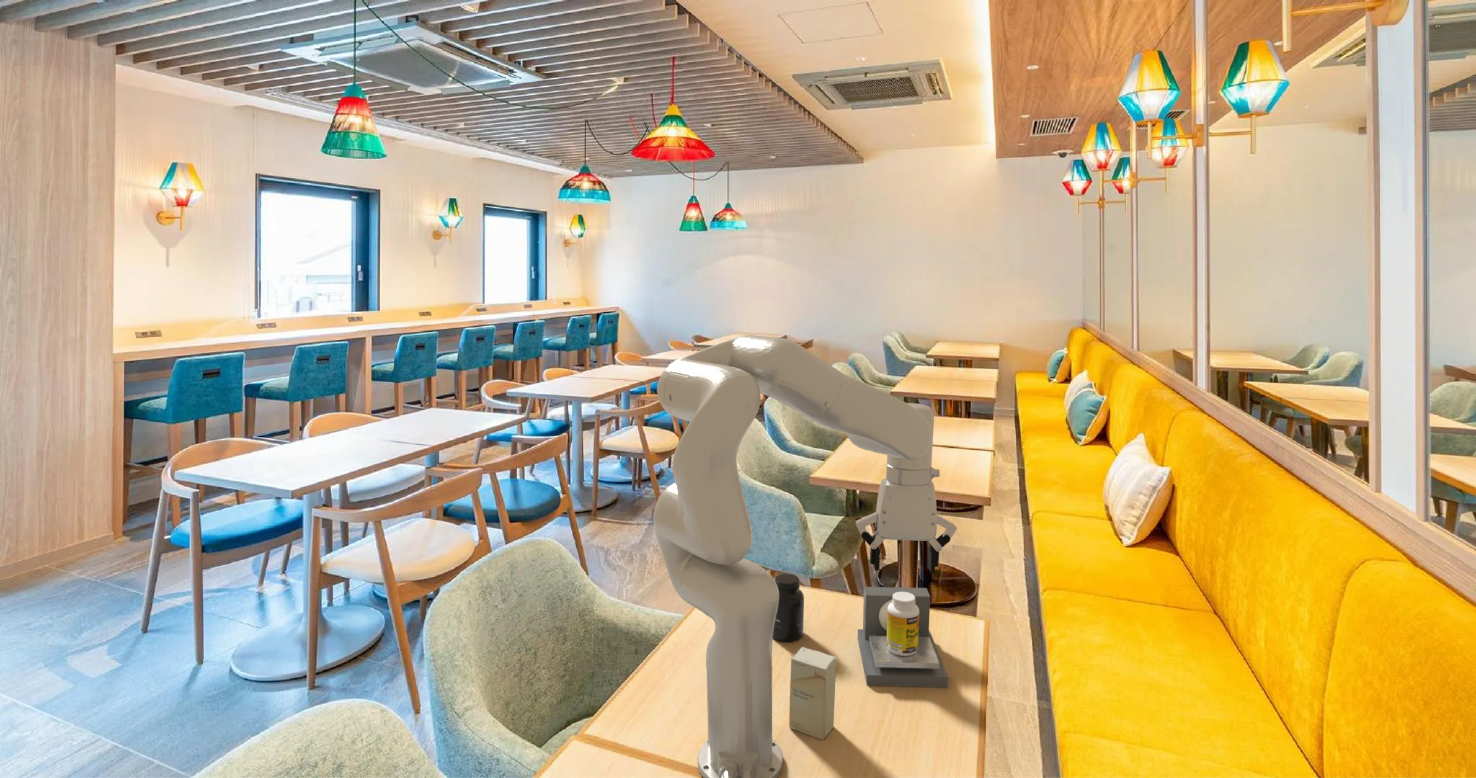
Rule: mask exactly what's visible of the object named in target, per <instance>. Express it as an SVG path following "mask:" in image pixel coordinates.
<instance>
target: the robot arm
mask: <svg viewBox="0 0 1476 778" xmlns="http://www.w3.org/2000/svg"><path fill="white" fill-rule="evenodd" d="M656 393H657V399H658V402H659V404H660V406H661V408H663V411H665V412H666V413H667V414H669V415H671V416H672V417H675V418H677V419H679V420H683V421H687V422H688V425H687V426H686V428H685V430H684V431H683V434H682V435H681V437H680V439H679V442H678V443H677V446H676V448H675V451H674V454H673V457H672V458H673V459H672V474H673V479H674V483H672V484H670V485H669V486H668V487H666V488H665V489H664V490H663V491H662V493H661V494H660V495H659V497H658V500H656V504H655V508H654V513H653V527H654V531H655V536H656V539H657V540H656V541H657V542H658V546H659V548H660V552H661V555H662V558H663V561H664V564H665V567H666V570H667V574H668V577H669V579H670V582H671V585H672V586H673V589H674V591H675V592H676V593H677V595H678V596H679V597H680V599H682V600H683V601H684V602H686V603H687V604H689V605H690V606H692V607H693V608H695V609H696V610H699V611H700V612H701V613H703V614H704V615H706V616H707V617H708V618H709V619H710V618H711V619H712V621H713V622H714V624H715V626H714V627H715V629H714V632H713V634H712V636H711V637H710V640H709V641H708V643H707V646H706V647H707V648H706V655H705V656H706V657H705V659H706V660H705V662H706V664H705V665H706V694H707V695H706V700H707V703H706V705H707V706H706V708H707V740H706V741H704V743H703V744H702V745H701V747H700V749H699V750H698V754H697V755H698V756H697V767H698V771H699V772H700V775H701V777H703V778H779V775H780V774H781V772H782V768H783V760H784V757H783V751H782V748H781V746H779V744H778V743H777V742H776V740H774V739H773V639H774V638H773V630H774V624H775V619H776V614H777V610H778V604H779V590H778V587H777V584H776V582H775V578H774V577H773V576H772V574H770V573H769V571H768V570H767V569H765V568H764V567H762V566H760V565H759V564H757V563H755V562H753V561H751V560H749V559H747V558H745V557H746V556H747V555H748V554H749V552H750V550H751V547H752V544H753V528H752V523H751V522H752V521H751V517H750V513H749V511H748V506H747V502H746V499H745V496H744V492H743V488H742V485H741V480H740V476H739V470H738V465H737V463H738V462H737V457H738V456H737V455H738V451H739V447H740V445H741V443H742V442H743V438H744V436H745V435H746V434H747V431H748V430H749V429H750V427H751V425H752V424H753V422H754V421H755V419H756V417H757V414H758V412H759V409H760V405H761V395H764V396H767V397H770V398H771V399H773V400H776V401H777V402H779V403H780V404H782V405H785V407H788V408H790V409H792V410H793V411H796V412H797V413H799V414H801V415H802V416H804V417H806V418H807V419H809V420H811V421H812V422H815V423H817V424H819V425H821V426H824V427H826V428H829V429H832V430H836V431H839V432H844V433H846V435H847V438H848V440H849V441H850V443H851V444H853V445H854V446H855V447H857V448H859V449H861V450H864V451H869V452H872V453H876V454H882V455H886V475H885V478H882V479H881V480H880V482H879V483H880V484H879V488H878V493H877V499H876V508H875V510H876V511H875V512H873V513H871V514H868V515H865V516H863V517H861V518H860V519H857V520H856V521H855V526H856V528H857V530H858V532H859V534H860V536H861V538H862V540H863V541H865V542H866V543H867V544H868V545H869V547H870V548H869V552H870V553H869V564H870V565H872V566H873V569H874V571H875V572H879V571H880V562H881V561H880V560H881V549H880V545H881V544H882V543H883V542H884V541H885V540H890V541H893V540H894V541H920V542H924V541H925V542H926V541H928V542H929V546H928V548H927V549H928V550H927V551H928V552H927V565H926V567H927V568H928V570H929V572H930V573H931V574H935V573H936V568H937V567H939V563H940V561H939V560H940V552H941V551H942V549H943V547H945V546H947V544H948V543H950V541H951V538H952V537H953V536H954V534H955V533H956V532H957V530H958V528H957V526H956V524H955V523H953V522H951V521H949V520H948V519H946V518H944V517H943V516H940V515H938V514H937V497H936V489H935V484H934V482H933V481H932V480H933V479H934V478H939V477H940V475H941V473H940V472H941V471H940V469H936V468H933V467H932V464H933V463H932V462H933V461H932V460H933V446H934V445H933V443H934V429H935V428H934V425H935V424H934V423H935V412H934V410H933V408H932V407H930V406H929V405H926V404H922V403H916V402H915V403H914V402H913V403H912V402H905V401H904V400H902V399H900V398H898V397H895V396H894V395H891V394H889V393H887V392H884V391H882V390H880V389H877V388H875V387H873V386H872V385H870V384H867V383H865V382H863V381H860V379H859V380H858V379H855V378H853V377H851V376H848V375H847V374H845V373H843V372H842V371H840V370H838V369H837V368H835V367H834V366H833V365H831V364H829V363H828V362H826V361H824V360H823V359H821V358H820V357H818V356H817V355H816V354H814V353H813V352H811V351H810V350H808V349H807V348H805V347H803V346H802V345H800V344H799V343H797V342H796V341H792V340H790V339H789V338H784V337H783V338H782V337H774V336H765V335H764V336H763V335H754V334H745V335H739V336H736V337H732V338H730V339H728V340H724V341H721V342H719V343H717V344H714V345H712V346H709V347H706V348H704V349H701V350H698V351H696V352H694V353H691V354H688V355H685V356H683V357H681V358H679V359H676V360H674V361H673V362H671V363H670V364H669V365H668V366H666V368H664V370H663V372H662V373H661V375H660V377H659V379H658V382H657V387H656ZM871 524H874V525H875V526H874V527H875V529H876V531H875V532H874V533H873V534H872V535H871V534H870V532H868V531H867V527H868V526H869V525H870V526H871ZM937 525H938V526H940V527H942V528H944V529H945V530H944V531H943V533H941V535H939V536H938V537H937V538H936V536H937V531H938V530H937V528H938V527H937Z"/></svg>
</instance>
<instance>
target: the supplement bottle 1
mask: <svg viewBox="0 0 1476 778" xmlns="http://www.w3.org/2000/svg"><path fill="white" fill-rule="evenodd" d="M774 580H775V582H776V584H777V587H778V590H779V604H778V610H777V614H776V619H775V624H774V630H773V639H774V640H775V641H778V642H781V643H793V642H797V641H799V640H800V639H801V638H802V637H803V635H804V623H805V622H804V621H805V619H804V618H805V617H804V615H805V614H804V613H805V612H804V611H805V596H804V593H803V590H801V589H800V578H799V576H797V575H796V574H793V573H792V574H791V573H781V574H778V575H776V576H775V578H774Z"/></svg>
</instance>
